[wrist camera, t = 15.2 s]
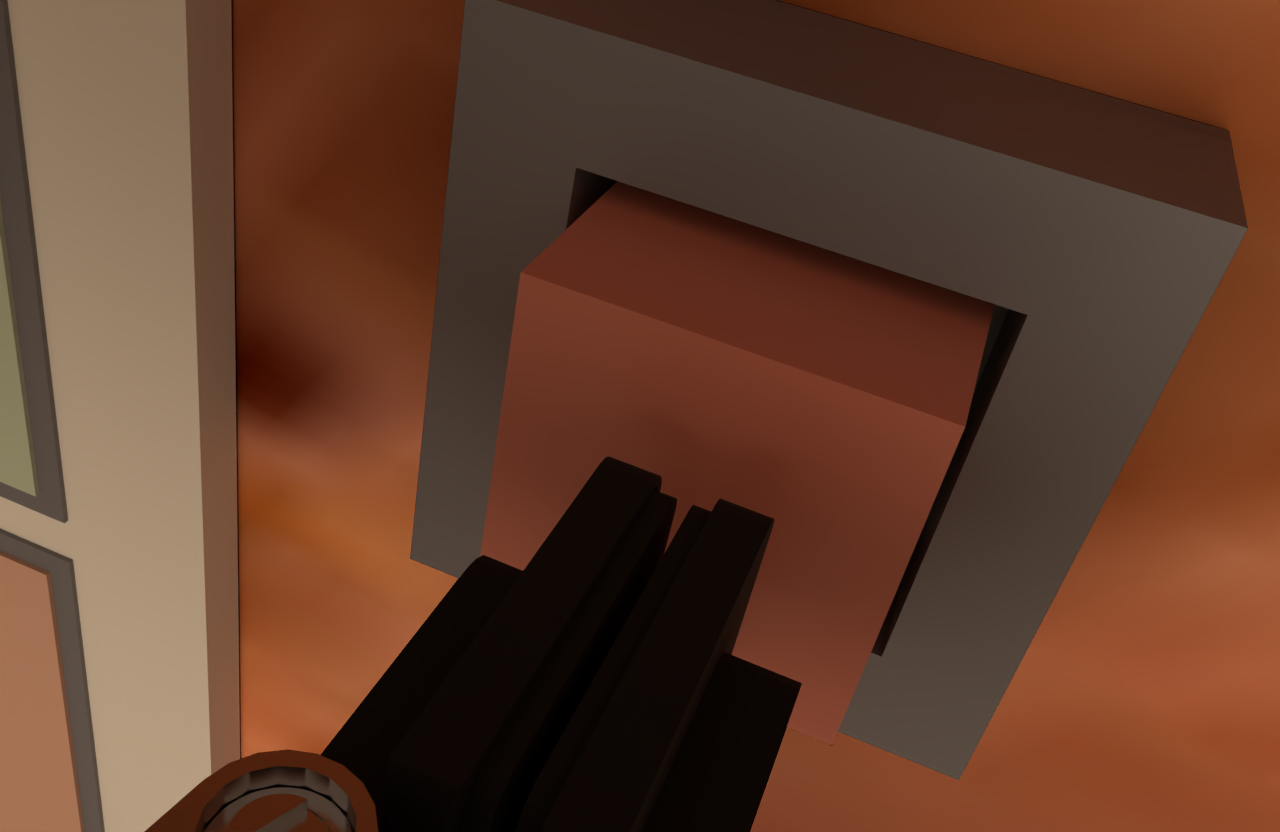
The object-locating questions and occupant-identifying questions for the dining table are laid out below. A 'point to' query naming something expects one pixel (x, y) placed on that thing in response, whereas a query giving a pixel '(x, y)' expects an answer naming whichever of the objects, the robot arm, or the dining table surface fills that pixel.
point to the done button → (741, 412)
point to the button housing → (865, 230)
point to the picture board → (116, 410)
